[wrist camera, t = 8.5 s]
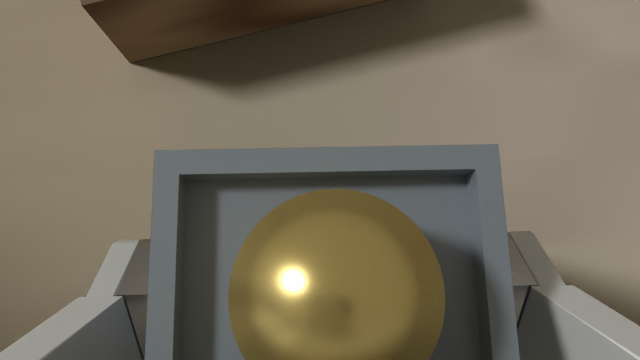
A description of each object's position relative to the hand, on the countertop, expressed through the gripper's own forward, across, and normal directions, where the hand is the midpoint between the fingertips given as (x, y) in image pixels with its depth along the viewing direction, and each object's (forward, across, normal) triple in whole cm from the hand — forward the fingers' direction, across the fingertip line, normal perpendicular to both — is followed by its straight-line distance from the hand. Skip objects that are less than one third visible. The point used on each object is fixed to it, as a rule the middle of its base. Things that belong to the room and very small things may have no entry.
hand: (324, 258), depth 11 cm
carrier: (+3, 0, +4) cm, 4 cm away
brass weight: (-2, 0, -1) cm, 3 cm away
